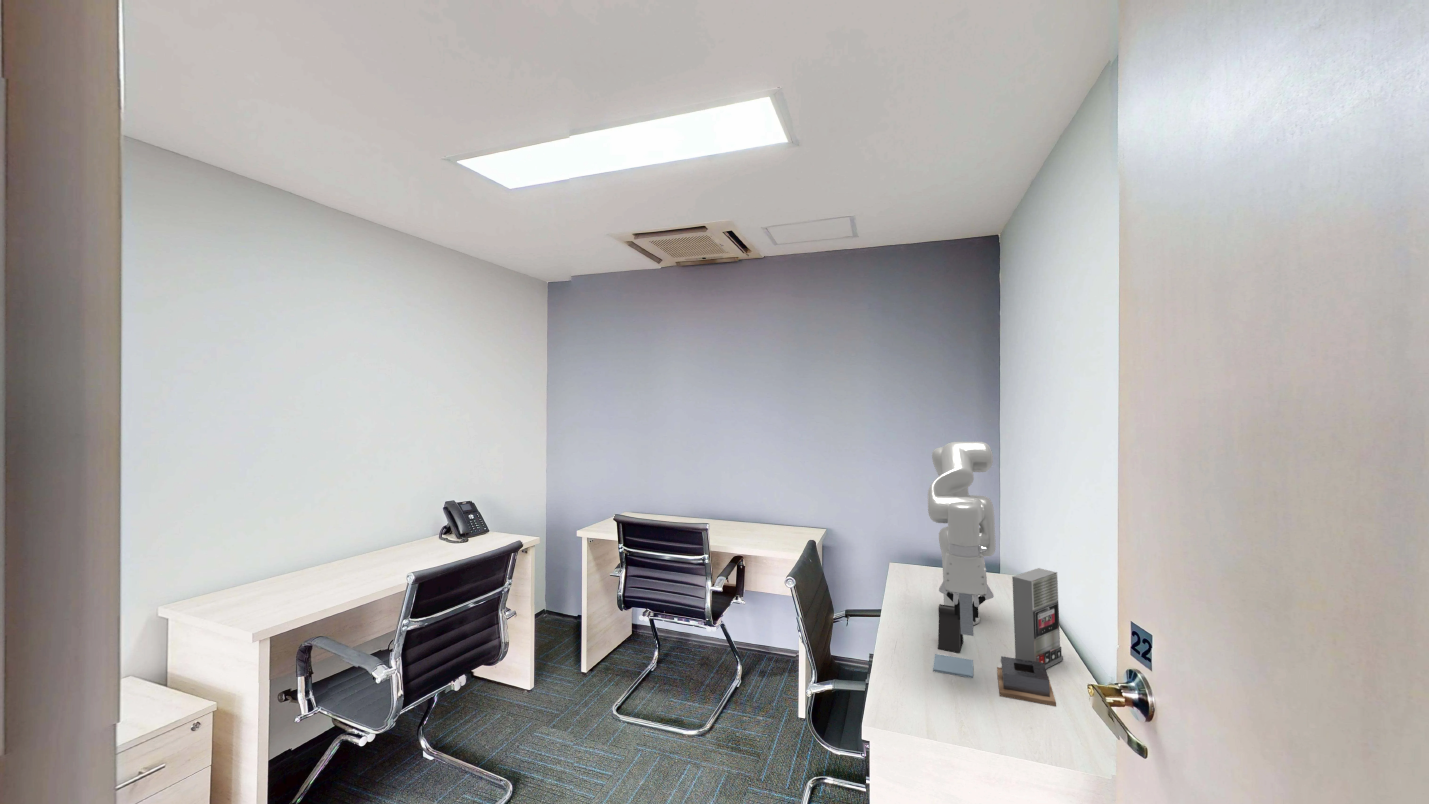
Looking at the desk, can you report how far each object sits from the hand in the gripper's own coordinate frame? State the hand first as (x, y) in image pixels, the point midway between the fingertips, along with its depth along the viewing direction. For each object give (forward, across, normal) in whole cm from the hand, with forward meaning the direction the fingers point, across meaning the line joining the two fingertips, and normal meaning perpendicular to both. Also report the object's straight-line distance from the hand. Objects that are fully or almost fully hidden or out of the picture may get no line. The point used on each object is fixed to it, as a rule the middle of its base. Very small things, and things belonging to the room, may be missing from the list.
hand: (966, 618), depth 140 cm
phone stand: (+18, +5, -22) cm, 29 cm away
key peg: (+4, 0, 0) cm, 4 cm away
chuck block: (+17, -13, -3) cm, 22 cm away
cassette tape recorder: (+18, -18, -19) cm, 32 cm away
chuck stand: (+17, -13, -3) cm, 22 cm away
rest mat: (+17, +4, -8) cm, 20 cm away
